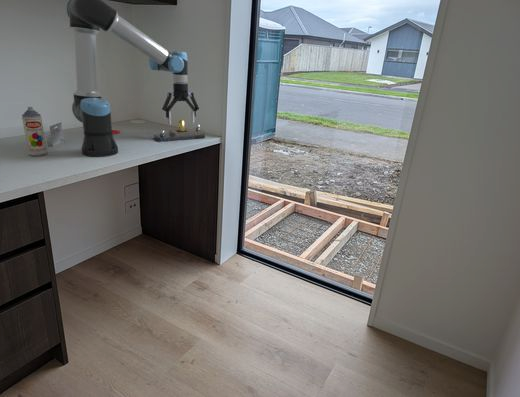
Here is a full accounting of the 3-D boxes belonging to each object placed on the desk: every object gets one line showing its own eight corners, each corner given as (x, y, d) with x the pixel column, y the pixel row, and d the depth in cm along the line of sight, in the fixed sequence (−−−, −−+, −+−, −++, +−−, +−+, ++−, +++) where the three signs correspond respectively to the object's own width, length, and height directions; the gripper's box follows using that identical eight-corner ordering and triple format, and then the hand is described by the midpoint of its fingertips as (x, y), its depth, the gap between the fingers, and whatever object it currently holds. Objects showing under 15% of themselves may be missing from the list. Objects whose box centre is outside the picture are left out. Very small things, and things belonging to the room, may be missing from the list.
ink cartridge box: (47, 147, 168) (44, 126, 164) (59, 141, 178) (56, 121, 175) (53, 147, 168) (49, 126, 164) (64, 142, 178) (61, 122, 175)
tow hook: (109, 131, 209) (100, 133, 200) (107, 108, 205) (98, 109, 196) (123, 132, 208) (114, 135, 199) (121, 109, 204) (113, 111, 195)
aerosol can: (29, 157, 151) (20, 108, 144) (28, 153, 156) (19, 106, 149) (48, 155, 155) (40, 108, 147) (46, 151, 160) (38, 105, 152)
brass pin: (179, 139, 198) (179, 120, 195) (176, 137, 201) (176, 119, 198) (186, 138, 200) (186, 120, 197) (183, 137, 203) (183, 119, 200)
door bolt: (160, 141, 190) (159, 128, 187) (154, 138, 197) (153, 125, 194) (204, 138, 204) (204, 125, 201) (197, 135, 211) (197, 123, 208)
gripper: (199, 82, 200) (199, 121, 207) (154, 82, 186) (156, 123, 194) (205, 83, 194) (205, 123, 202) (160, 83, 180) (161, 125, 188)
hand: (181, 123), depth 198 cm, fingers open, 13 cm apart
